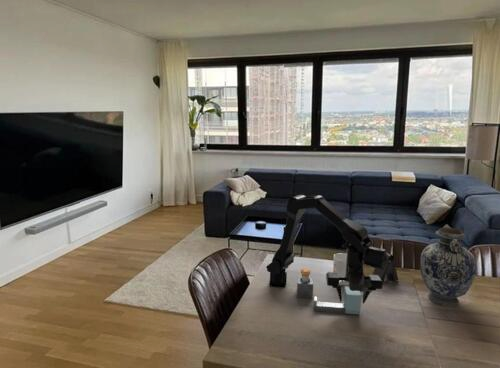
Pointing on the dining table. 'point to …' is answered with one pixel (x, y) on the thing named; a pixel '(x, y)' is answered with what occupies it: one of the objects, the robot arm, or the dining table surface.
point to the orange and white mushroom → (305, 275)
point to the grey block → (352, 301)
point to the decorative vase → (447, 267)
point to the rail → (328, 306)
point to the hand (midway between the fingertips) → (351, 302)
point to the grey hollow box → (304, 288)
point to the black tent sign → (387, 270)
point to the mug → (340, 266)
